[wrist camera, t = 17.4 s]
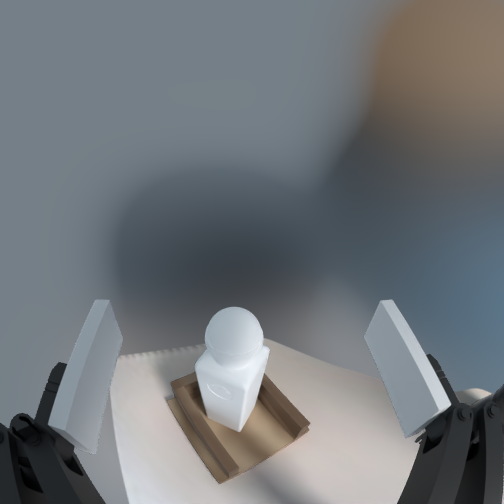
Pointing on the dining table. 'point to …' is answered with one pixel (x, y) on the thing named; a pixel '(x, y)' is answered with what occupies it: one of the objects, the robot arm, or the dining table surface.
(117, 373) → the dining table surface
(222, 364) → the white plastic bottle
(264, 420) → the walnut holder
